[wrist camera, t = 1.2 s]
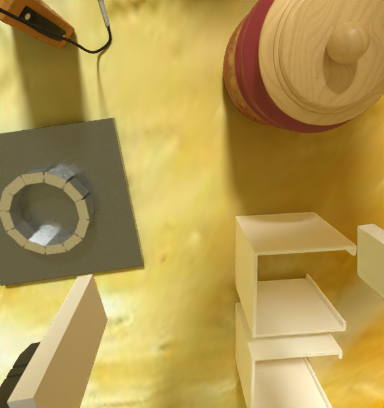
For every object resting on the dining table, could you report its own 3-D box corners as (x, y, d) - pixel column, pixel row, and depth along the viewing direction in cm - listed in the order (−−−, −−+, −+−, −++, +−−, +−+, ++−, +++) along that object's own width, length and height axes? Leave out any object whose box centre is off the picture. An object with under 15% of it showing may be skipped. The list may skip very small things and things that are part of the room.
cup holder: (-49, 140, 37) (-71, 144, 34) (114, 117, 37) (108, 119, 34) (4, 281, 44) (-10, 296, 40) (144, 261, 44) (141, 274, 40)
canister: (280, 145, 40) (358, 176, 23) (199, 82, 37) (219, 64, 20) (351, 55, 37) (499, 14, 20) (268, -22, 34) (360, -144, 17)
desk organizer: (235, 215, 42) (254, 252, 32) (313, 211, 43) (357, 245, 32) (235, 358, 50) (250, 424, 40) (301, 353, 51) (333, 418, 40)
